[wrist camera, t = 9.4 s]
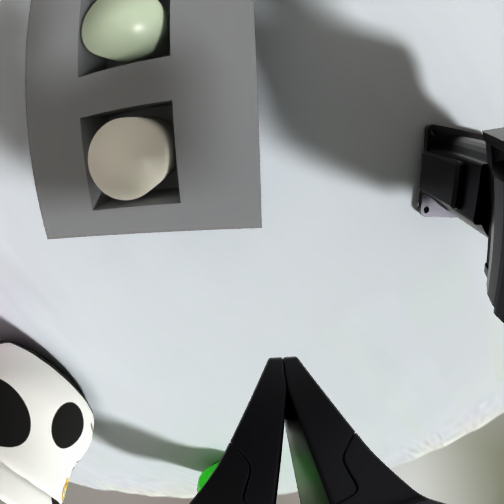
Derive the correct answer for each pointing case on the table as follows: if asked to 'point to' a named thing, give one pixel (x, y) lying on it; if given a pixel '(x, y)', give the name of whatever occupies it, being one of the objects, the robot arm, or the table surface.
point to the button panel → (146, 104)
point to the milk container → (38, 427)
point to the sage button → (127, 30)
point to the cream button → (132, 156)
